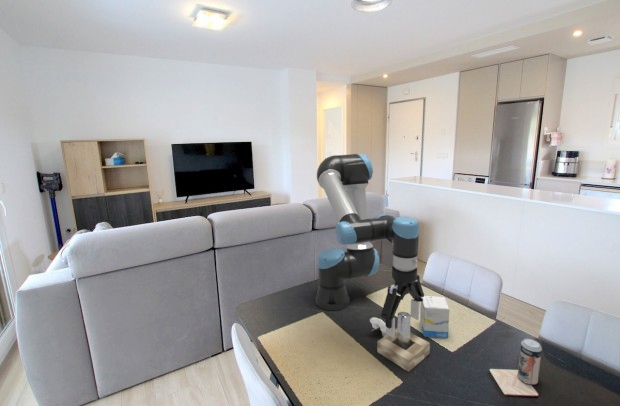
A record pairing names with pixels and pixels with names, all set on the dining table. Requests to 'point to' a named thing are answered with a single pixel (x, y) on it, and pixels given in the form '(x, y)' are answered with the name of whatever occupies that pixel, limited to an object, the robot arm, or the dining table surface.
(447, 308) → the ink box
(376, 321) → the white coral lump
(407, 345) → the peg
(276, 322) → the dining table surface
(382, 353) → the socket block
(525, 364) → the beer can
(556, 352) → the dining table surface
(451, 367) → the dining table surface
